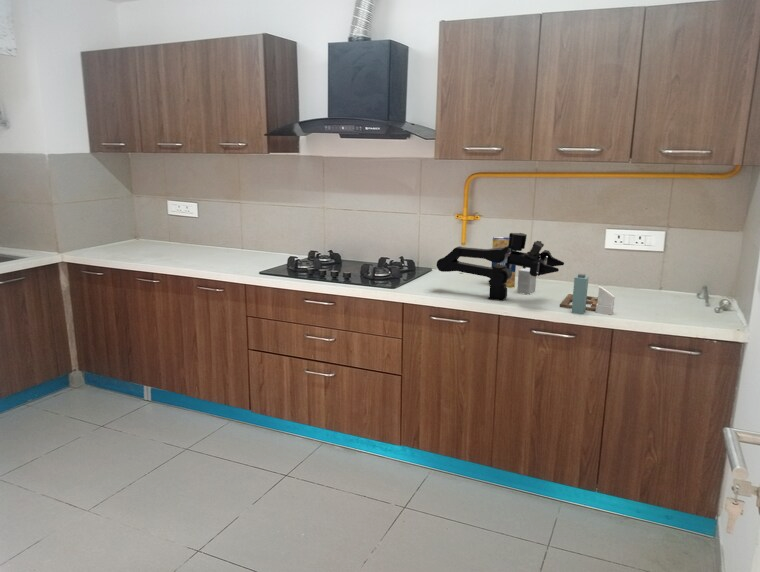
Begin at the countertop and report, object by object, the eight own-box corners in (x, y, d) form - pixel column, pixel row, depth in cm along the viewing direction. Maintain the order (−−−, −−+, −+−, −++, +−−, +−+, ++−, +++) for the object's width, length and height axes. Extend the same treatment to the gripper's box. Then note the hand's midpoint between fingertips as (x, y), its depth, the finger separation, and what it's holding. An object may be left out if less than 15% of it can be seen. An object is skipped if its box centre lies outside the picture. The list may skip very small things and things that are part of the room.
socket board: (559, 307, 232) (559, 302, 232) (568, 296, 249) (568, 292, 248) (596, 311, 226) (596, 307, 226) (602, 300, 242) (603, 296, 242)
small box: (523, 289, 261) (524, 266, 258) (535, 291, 258) (537, 268, 255) (516, 293, 254) (518, 269, 252) (529, 295, 251) (530, 271, 249)
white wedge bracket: (587, 302, 229) (600, 285, 225) (608, 318, 226) (622, 301, 222) (584, 304, 226) (597, 287, 222) (606, 320, 223) (620, 303, 219)
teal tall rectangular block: (571, 312, 224) (574, 275, 221) (573, 310, 228) (576, 272, 225) (583, 314, 222) (586, 276, 219) (585, 311, 226) (588, 274, 223)
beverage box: (491, 282, 273) (493, 236, 268) (514, 284, 271) (517, 237, 266) (490, 286, 267) (492, 239, 262) (514, 287, 264) (517, 240, 259)
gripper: (518, 246, 226) (558, 253, 219) (531, 235, 241) (569, 241, 234) (515, 272, 230) (554, 280, 223) (528, 260, 245) (565, 267, 238)
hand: (561, 266), depth 229 cm, fingers open, 9 cm apart
